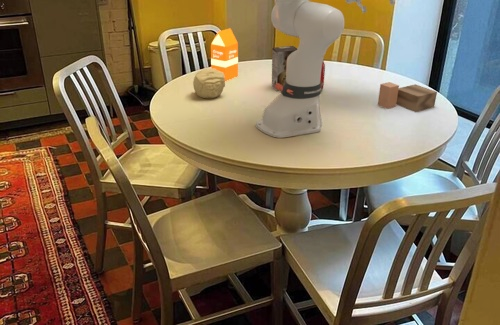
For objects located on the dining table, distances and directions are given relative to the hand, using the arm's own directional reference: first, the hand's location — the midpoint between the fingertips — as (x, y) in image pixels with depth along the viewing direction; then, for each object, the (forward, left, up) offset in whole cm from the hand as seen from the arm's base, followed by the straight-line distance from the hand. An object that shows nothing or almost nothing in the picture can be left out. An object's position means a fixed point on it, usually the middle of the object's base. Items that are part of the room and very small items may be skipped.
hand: (378, 8), depth 162 cm
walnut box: (+14, -10, -34) cm, 38 cm away
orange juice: (-28, +56, -34) cm, 71 cm away
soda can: (-6, +23, -34) cm, 42 cm away
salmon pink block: (+5, -5, -34) cm, 35 cm away
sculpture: (-45, +39, -34) cm, 69 cm away
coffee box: (-15, +31, -34) cm, 48 cm away
